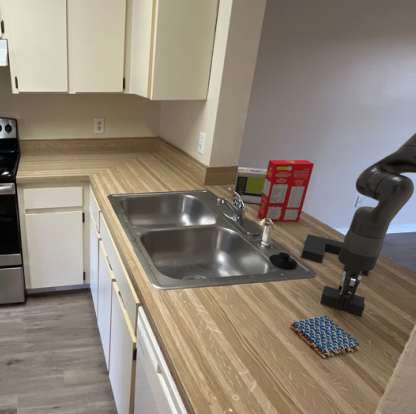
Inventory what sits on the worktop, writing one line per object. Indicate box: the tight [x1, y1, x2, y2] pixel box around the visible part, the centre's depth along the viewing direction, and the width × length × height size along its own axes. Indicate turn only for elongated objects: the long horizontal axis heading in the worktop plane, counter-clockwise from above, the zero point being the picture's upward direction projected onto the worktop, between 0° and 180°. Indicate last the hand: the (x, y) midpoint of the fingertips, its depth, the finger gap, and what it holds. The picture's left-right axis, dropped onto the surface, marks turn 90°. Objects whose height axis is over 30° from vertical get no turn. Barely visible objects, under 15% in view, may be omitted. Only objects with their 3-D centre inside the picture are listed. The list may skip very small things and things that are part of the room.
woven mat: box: [289, 315, 360, 359], centre depth 79 cm, size 10×11×2 cm
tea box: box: [233, 166, 267, 205], centre depth 157 cm, size 15×10×15 cm
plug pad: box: [320, 285, 366, 317], centre depth 90 cm, size 5×9×3 cm, turn 54°
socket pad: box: [300, 233, 370, 276], centre depth 112 cm, size 18×14×3 cm
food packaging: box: [257, 159, 315, 223], centre depth 135 cm, size 15×5×25 cm, turn 88°
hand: (341, 299), depth 90 cm, fingers open, 8 cm apart
